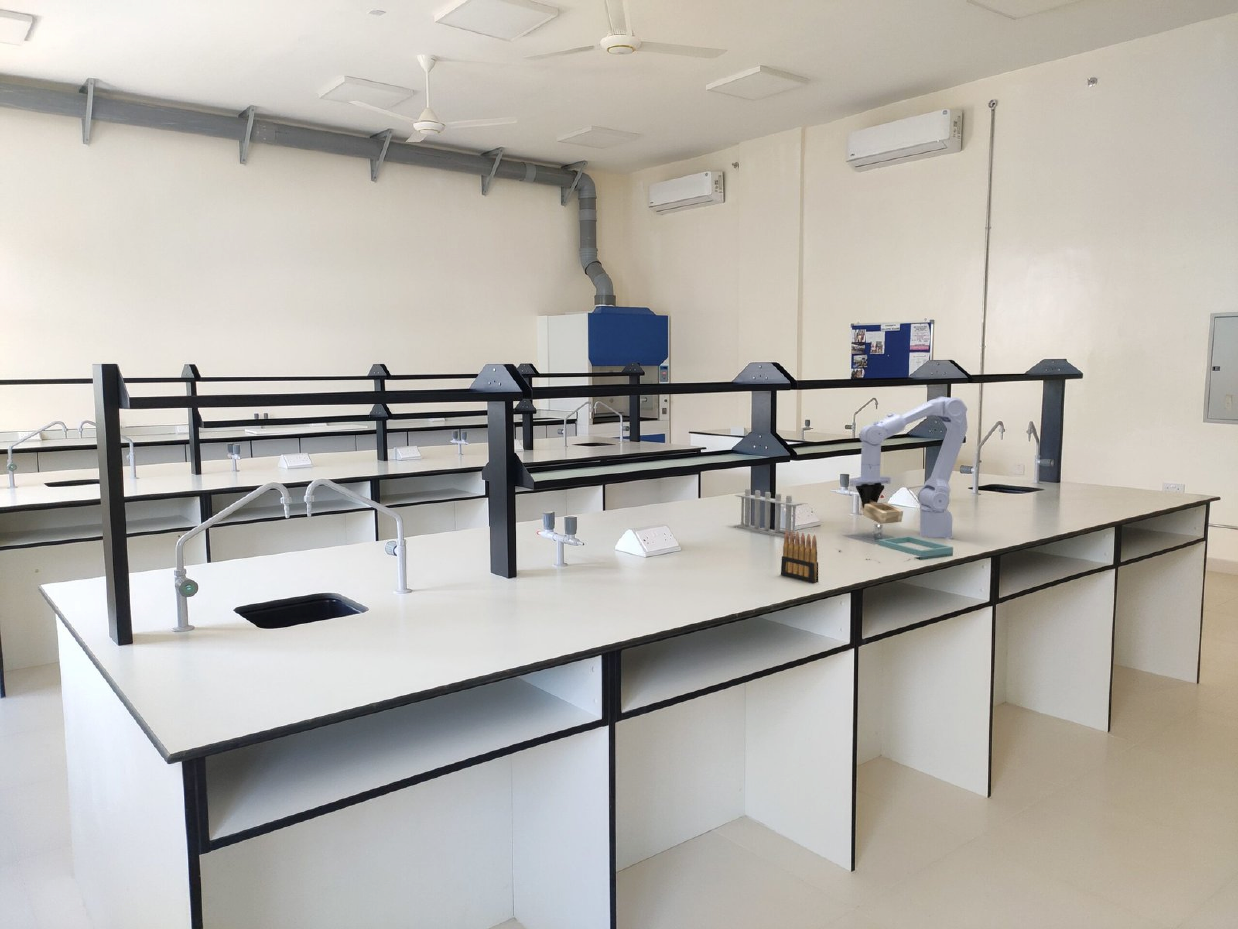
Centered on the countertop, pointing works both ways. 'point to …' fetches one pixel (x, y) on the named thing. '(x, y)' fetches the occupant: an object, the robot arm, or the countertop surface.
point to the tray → (936, 552)
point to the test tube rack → (767, 513)
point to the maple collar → (882, 512)
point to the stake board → (871, 535)
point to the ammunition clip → (800, 558)
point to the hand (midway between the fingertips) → (869, 508)
